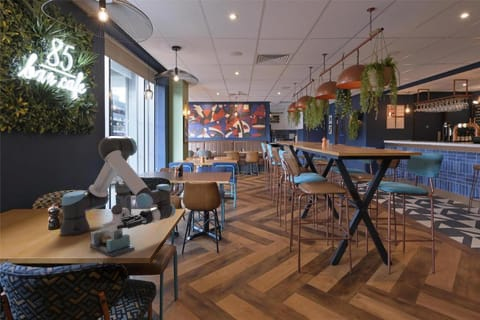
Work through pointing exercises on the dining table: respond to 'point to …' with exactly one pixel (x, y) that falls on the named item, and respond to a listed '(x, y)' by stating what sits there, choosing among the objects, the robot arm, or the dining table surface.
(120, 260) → the dining table surface
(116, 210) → the jaw
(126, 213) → the donut
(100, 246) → the nutcracker base
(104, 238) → the walnut
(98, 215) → the dining table surface
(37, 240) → the dining table surface
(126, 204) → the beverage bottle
